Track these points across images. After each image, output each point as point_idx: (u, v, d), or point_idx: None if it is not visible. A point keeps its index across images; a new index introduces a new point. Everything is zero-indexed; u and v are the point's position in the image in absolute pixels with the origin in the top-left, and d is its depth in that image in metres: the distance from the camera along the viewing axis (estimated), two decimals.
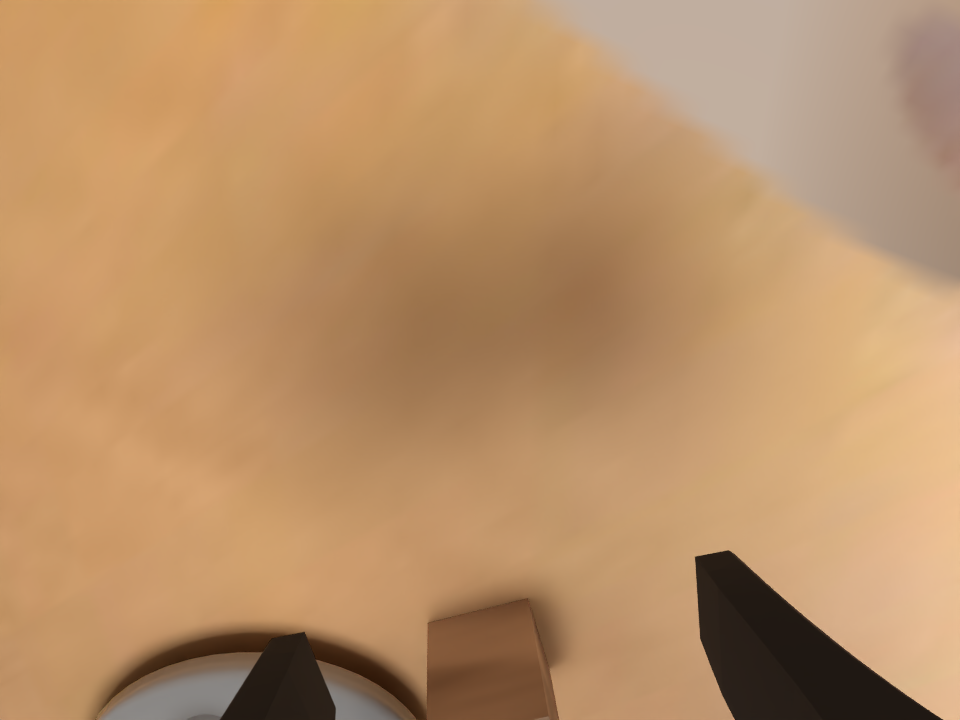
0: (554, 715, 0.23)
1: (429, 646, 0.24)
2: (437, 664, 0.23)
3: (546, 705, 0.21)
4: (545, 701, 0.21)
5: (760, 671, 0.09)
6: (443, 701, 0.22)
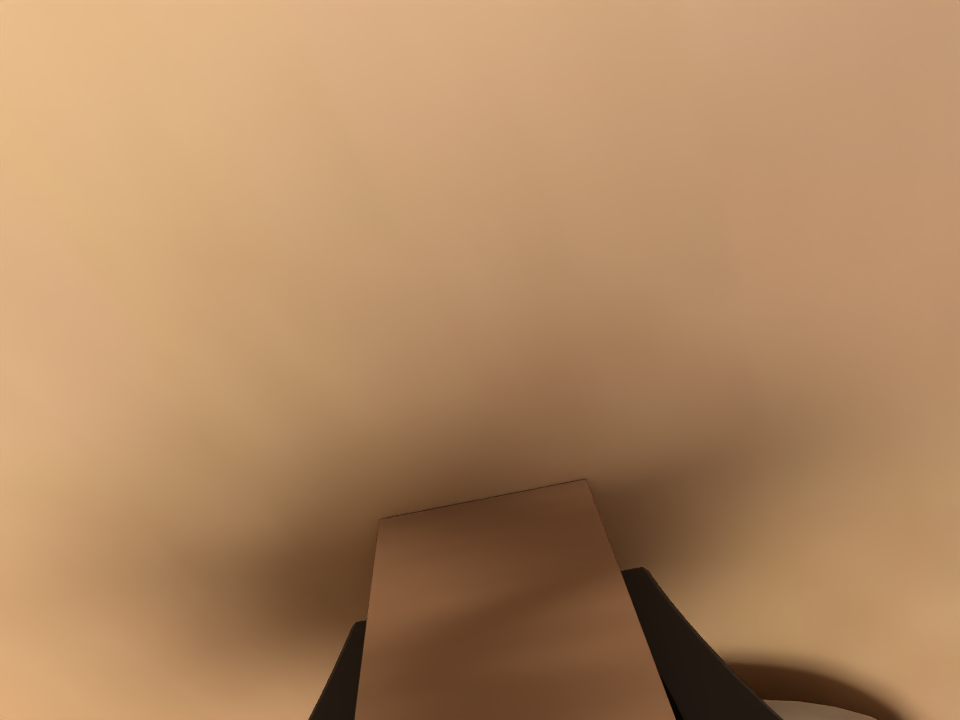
0: (512, 642, 0.09)
1: None
2: None
3: None
4: None
5: None
6: None
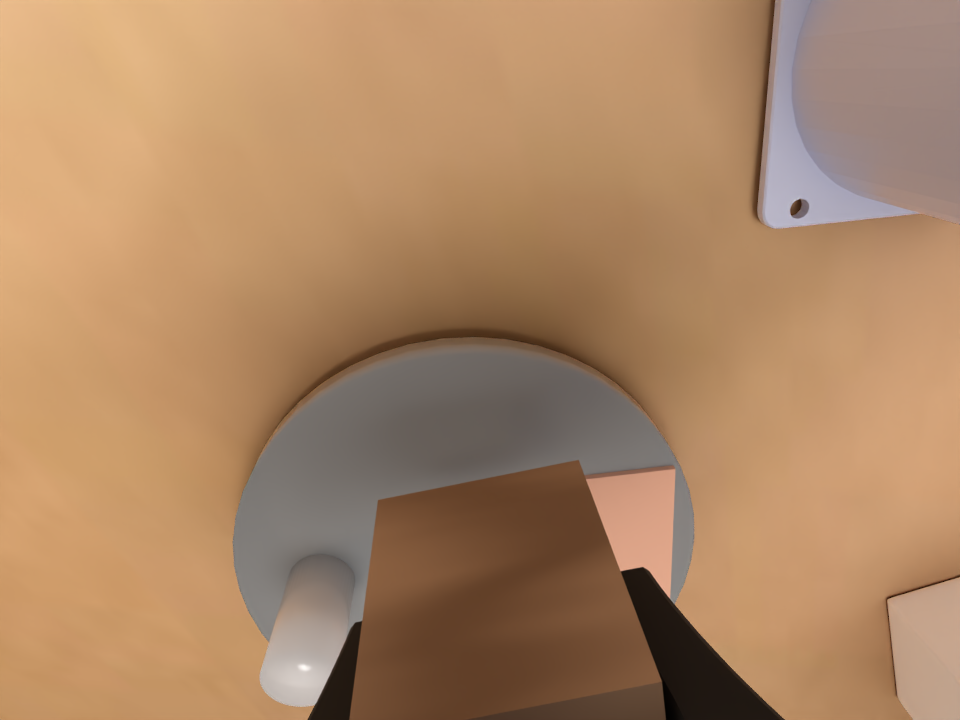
0: (506, 611, 0.09)
1: None
2: None
3: (355, 712, 0.08)
4: (353, 705, 0.09)
5: None
6: None
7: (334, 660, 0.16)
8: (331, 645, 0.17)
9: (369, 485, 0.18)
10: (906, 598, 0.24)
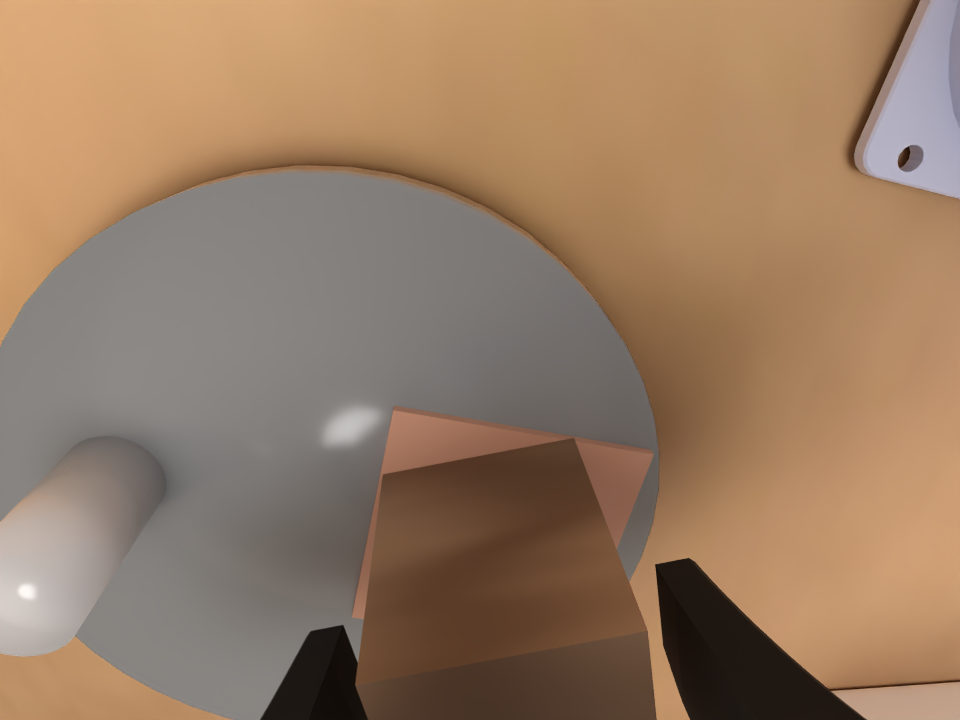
0: (503, 571, 0.10)
1: None
2: None
3: (363, 659, 0.09)
4: (361, 653, 0.09)
5: (712, 680, 0.09)
6: None
7: (79, 592, 0.10)
8: (84, 568, 0.10)
9: (226, 352, 0.12)
10: None
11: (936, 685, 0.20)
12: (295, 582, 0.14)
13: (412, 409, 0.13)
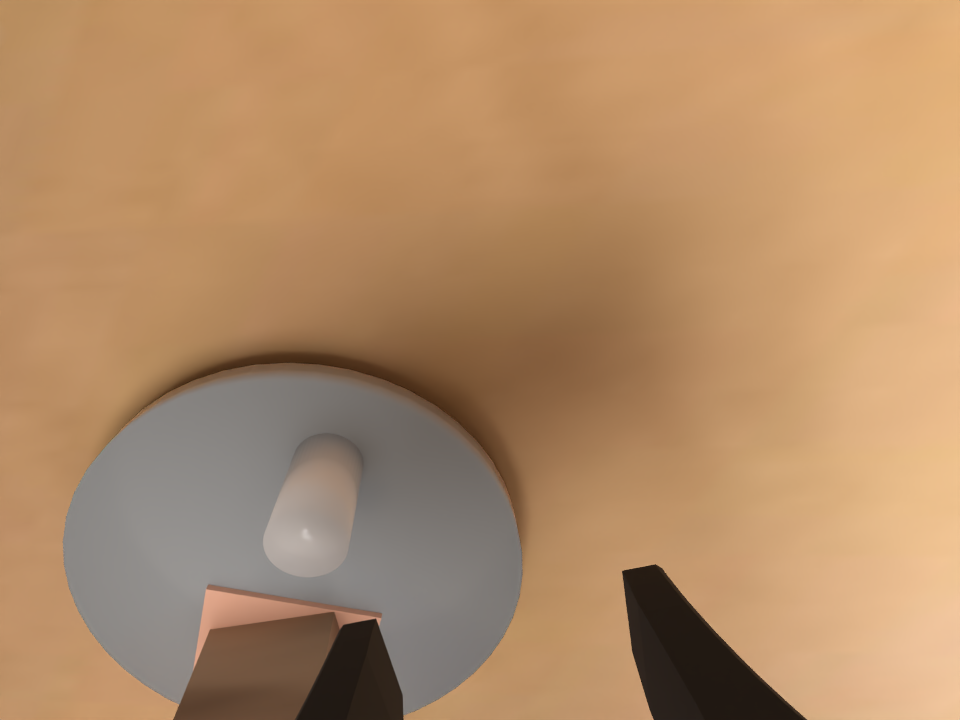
0: None
1: (200, 659, 0.19)
2: (200, 683, 0.19)
3: None
4: None
5: (671, 688, 0.09)
6: None
7: None
8: None
9: (421, 537, 0.20)
10: None
11: None
12: (234, 553, 0.20)
13: (380, 624, 0.21)
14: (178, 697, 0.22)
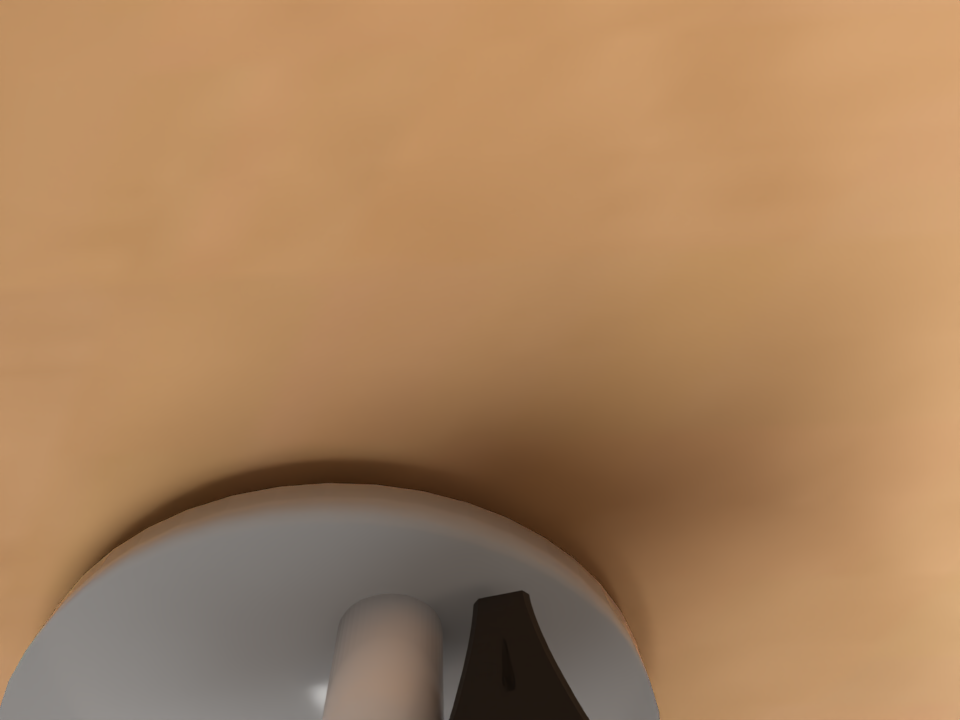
0: None
1: None
2: None
3: None
4: None
5: None
6: None
7: None
8: None
9: None
10: None
11: None
12: None
13: None
14: None
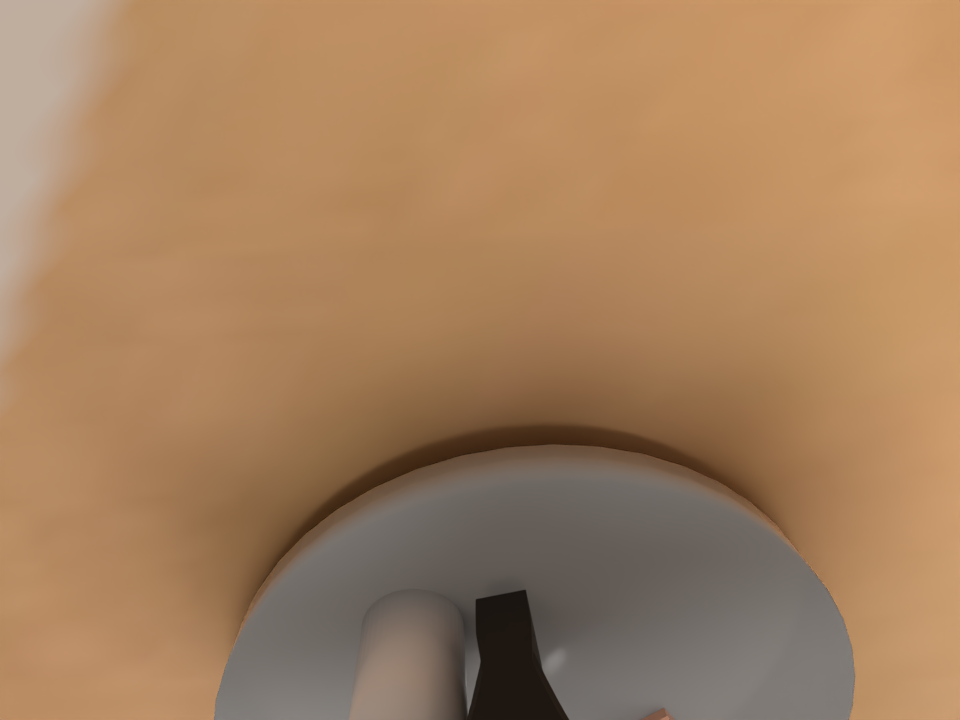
0: None
1: None
2: None
3: None
4: None
5: None
6: None
7: None
8: None
9: (604, 606, 0.13)
10: None
11: None
12: None
13: (674, 719, 0.14)
14: None
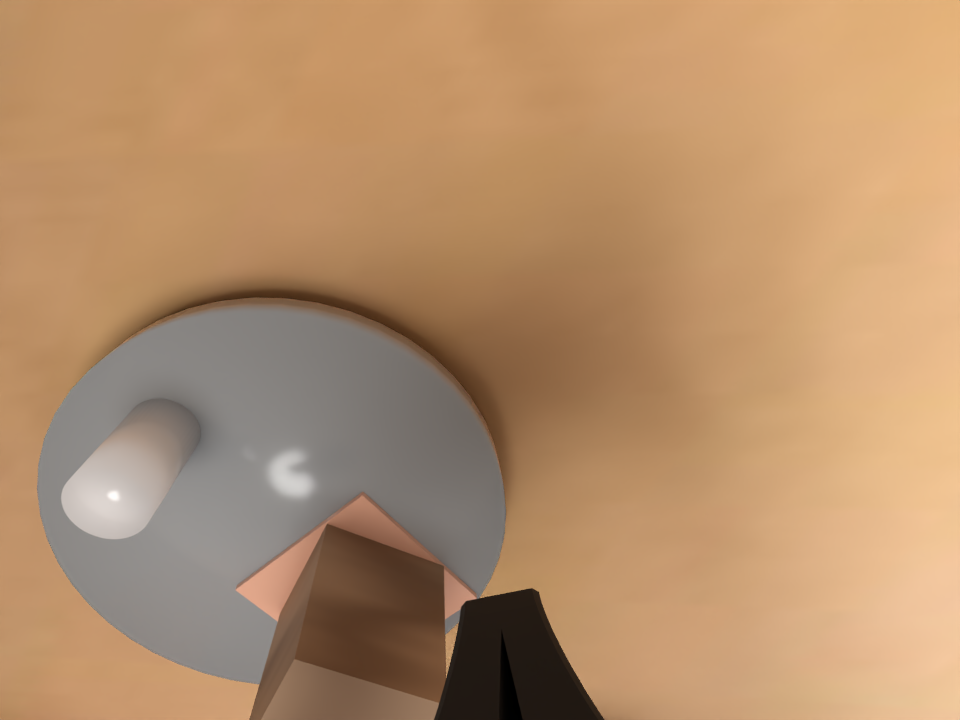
0: (385, 633, 0.17)
1: (272, 641, 0.20)
2: (269, 658, 0.19)
3: (300, 645, 0.16)
4: (299, 641, 0.16)
5: None
6: (258, 699, 0.18)
7: (151, 517, 0.15)
8: (158, 502, 0.16)
9: (296, 410, 0.18)
10: None
11: None
12: (217, 549, 0.20)
13: (371, 500, 0.20)
14: None
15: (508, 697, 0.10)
